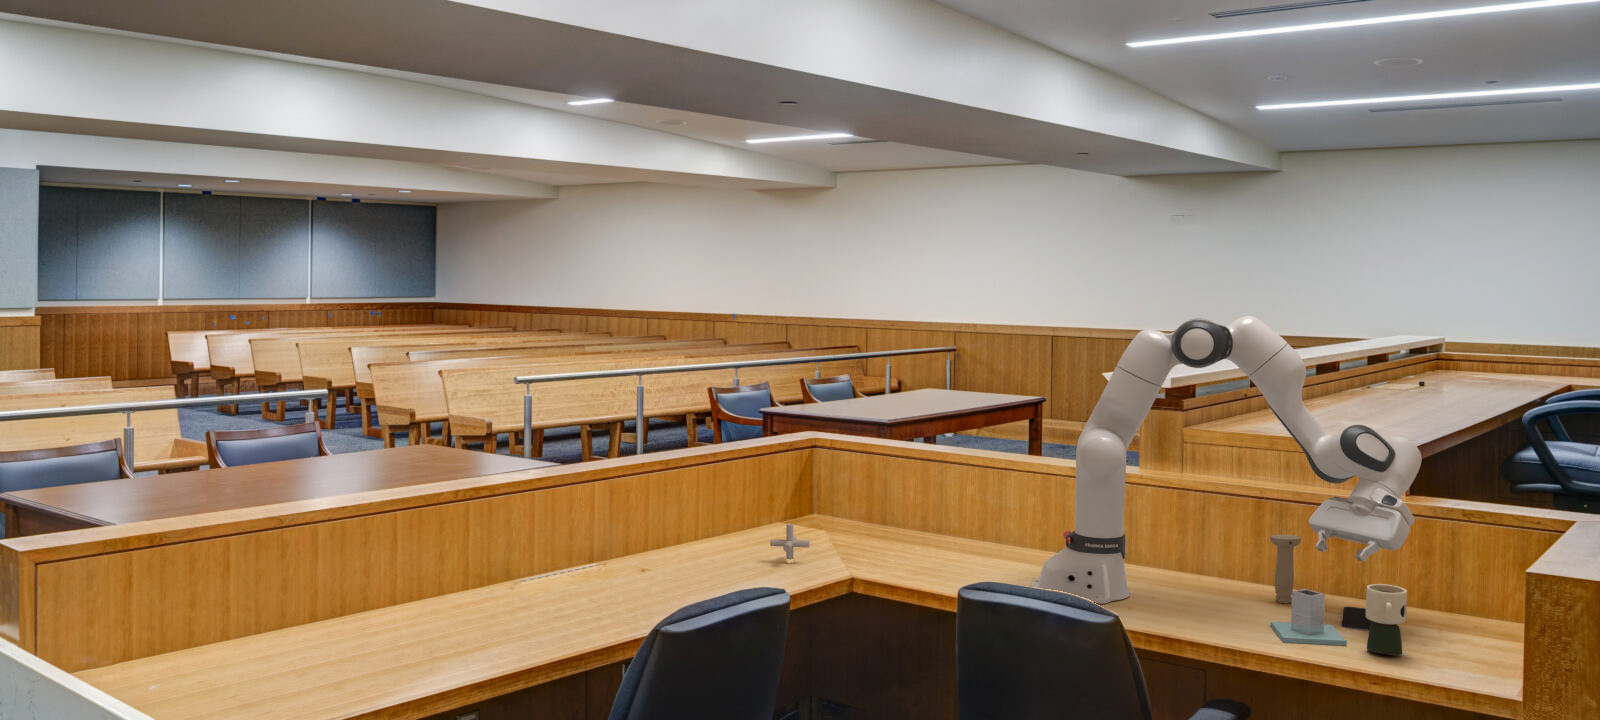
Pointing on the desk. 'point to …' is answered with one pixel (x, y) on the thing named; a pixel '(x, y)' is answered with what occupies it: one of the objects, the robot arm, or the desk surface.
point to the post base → (1292, 636)
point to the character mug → (1385, 617)
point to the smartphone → (1355, 619)
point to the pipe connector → (789, 542)
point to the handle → (1284, 566)
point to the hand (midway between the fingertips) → (1339, 554)
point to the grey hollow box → (1307, 611)
